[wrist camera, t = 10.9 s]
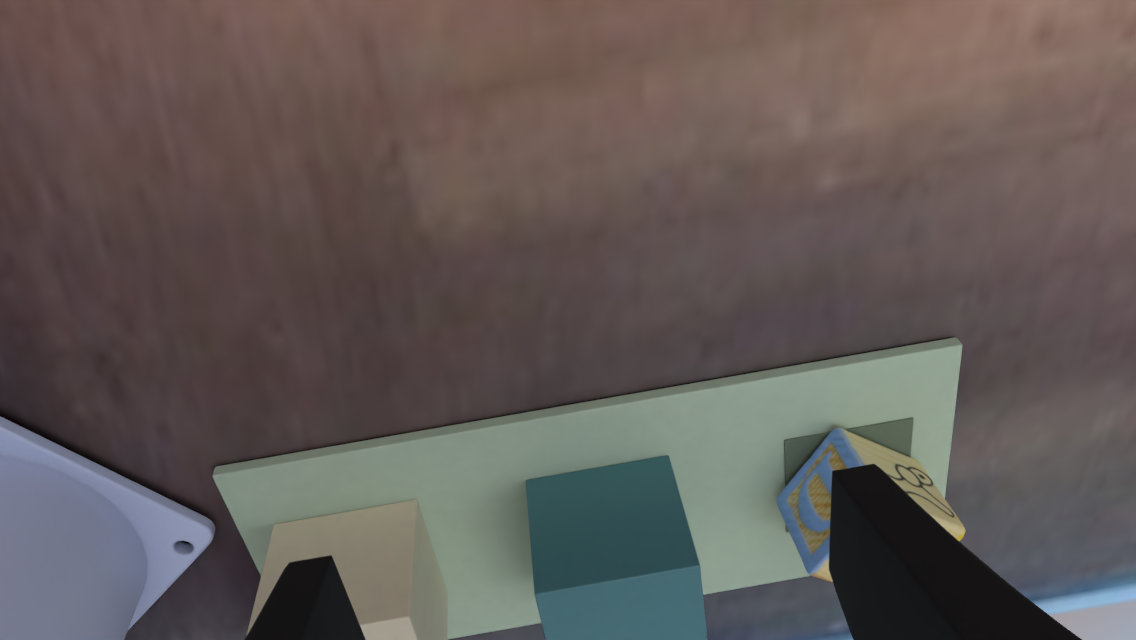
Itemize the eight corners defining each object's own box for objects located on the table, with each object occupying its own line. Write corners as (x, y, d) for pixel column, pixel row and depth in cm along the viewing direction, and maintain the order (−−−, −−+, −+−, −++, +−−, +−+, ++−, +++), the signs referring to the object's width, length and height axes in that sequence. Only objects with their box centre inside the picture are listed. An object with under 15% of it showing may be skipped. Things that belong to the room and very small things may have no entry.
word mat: (305, 654, 28) (303, 667, 28) (214, 465, 24) (210, 478, 24) (933, 544, 28) (939, 555, 28) (956, 336, 24) (964, 346, 24)
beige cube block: (316, 618, 27) (294, 742, 24) (273, 523, 25) (242, 645, 21) (448, 595, 27) (446, 716, 24) (416, 498, 25) (409, 617, 21)
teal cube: (547, 577, 27) (559, 696, 24) (524, 479, 25) (534, 594, 21) (680, 554, 27) (710, 669, 24) (669, 454, 25) (700, 565, 21)
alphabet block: (837, 420, 25) (880, 498, 22) (922, 457, 26) (972, 536, 23) (771, 496, 26) (805, 578, 23) (854, 528, 27) (895, 610, 24)
